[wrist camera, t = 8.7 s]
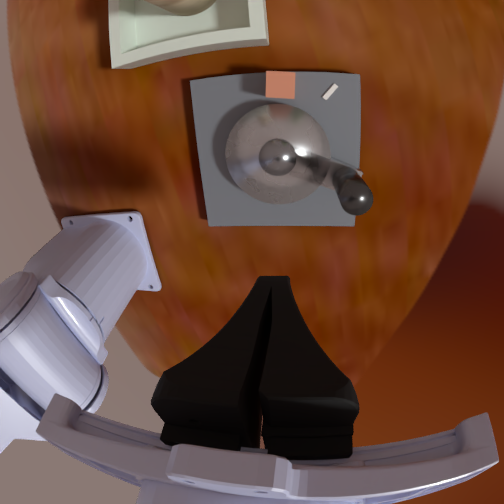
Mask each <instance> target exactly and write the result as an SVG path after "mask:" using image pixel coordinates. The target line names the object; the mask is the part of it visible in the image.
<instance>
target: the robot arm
mask: <svg viewBox="0 0 504 504" xmlns="http://www.w3.org/2000/svg"><path fill="white" fill-rule="evenodd" d="M129 216H131V217H132V219H130V217H129ZM61 224H62V226H63V230H62V231H60V232H59V233H58V234H57V235H56V236H55V237H54V238H53V239H51V240H50V241H49V242H48V243H47V244H46V245H45V246H43V247H42V248H41V249H40V250H39V251H38V252H37V253H36V254H35V255H34V256H33V257H32V258H31V259H30V260H29V261H28V262H27V264H26V265H25V267H24V269H23V271H20V272H17V273H15V274H13V275H12V276H10V277H9V278H7V279H6V280H4V281H3V282H2V283H1V284H0V453H1V452H2V451H3V450H4V449H5V448H6V447H7V446H8V445H9V444H10V443H11V441H12V440H13V439H28V440H39V441H48V442H49V443H51V444H52V445H54V446H55V447H57V448H58V449H60V450H61V451H62V452H64V453H65V454H67V455H69V456H71V457H73V458H75V459H77V460H79V461H81V462H83V463H85V464H87V465H89V466H91V467H93V468H95V469H98V470H100V471H102V472H104V473H106V474H109V475H111V476H113V477H116V478H118V479H120V480H123V481H125V482H128V483H131V484H133V485H136V486H139V487H141V488H140V491H139V495H138V498H137V502H136V504H391V503H396V502H400V501H404V500H408V499H412V498H416V497H419V496H422V495H426V494H429V493H432V492H435V491H439V490H442V489H445V488H447V487H450V486H453V485H456V484H459V483H461V482H464V481H466V480H469V479H470V478H472V477H474V476H476V475H478V474H480V473H481V472H483V471H485V470H487V469H488V468H490V467H491V466H493V465H495V464H496V463H498V461H499V458H498V453H497V449H496V444H495V440H494V435H493V431H492V427H491V423H490V420H489V416H488V413H483V414H480V415H477V416H474V417H471V418H468V419H466V420H464V421H462V422H461V423H460V424H458V425H457V426H456V428H455V429H452V430H448V431H445V432H441V433H437V434H433V435H429V436H424V437H420V438H415V439H410V440H405V441H399V442H393V443H387V444H380V445H372V446H364V447H352V435H353V432H354V431H353V423H354V421H355V419H356V417H357V415H358V413H359V403H358V399H357V395H356V392H355V390H354V387H353V385H352V382H351V380H350V379H349V378H348V377H346V376H345V375H344V374H343V373H342V372H341V371H340V370H339V369H338V368H337V366H336V365H335V364H334V363H333V362H332V361H331V360H330V359H329V357H328V356H327V355H326V353H325V352H324V351H323V350H322V348H321V347H320V346H319V344H318V343H317V341H316V340H315V338H314V337H313V335H312V334H311V332H310V330H309V329H308V327H307V325H306V323H305V321H304V319H303V317H302V315H301V313H300V311H299V309H298V306H297V304H296V302H295V299H294V296H293V293H292V290H291V285H290V278H289V277H288V276H260V277H258V279H257V281H256V283H255V284H254V286H253V288H252V290H251V291H250V293H249V295H248V296H247V298H246V299H245V300H244V302H243V303H242V305H241V306H240V308H239V309H238V310H237V312H236V313H235V314H234V315H233V317H232V318H231V319H230V320H229V321H228V323H227V324H226V325H225V326H224V327H223V328H222V329H221V330H220V331H219V332H218V333H217V334H216V335H215V336H214V337H213V338H212V339H211V340H210V341H209V342H207V343H206V344H205V345H204V346H203V347H201V348H200V349H199V350H197V351H196V352H195V353H193V354H192V355H191V356H189V357H188V358H186V359H185V360H183V361H182V362H180V363H178V364H177V365H175V366H173V367H172V368H170V369H168V370H166V371H164V372H163V374H162V376H161V378H160V380H159V382H158V384H157V386H156V389H155V391H154V394H153V397H152V399H151V405H152V407H153V408H154V410H155V411H156V413H158V415H159V416H160V418H161V419H162V420H163V421H164V422H165V424H164V427H163V430H162V433H161V434H160V433H155V432H151V431H147V430H144V429H140V428H136V427H133V426H129V425H126V424H122V423H119V422H116V421H113V420H110V419H107V418H104V417H101V416H98V415H95V414H94V413H95V412H96V411H97V409H98V408H99V407H100V405H101V404H102V402H103V400H104V397H105V395H106V392H107V388H108V381H109V380H108V379H109V378H108V372H107V370H106V368H105V366H104V365H103V362H104V360H105V358H106V356H107V355H108V352H107V350H106V349H105V347H104V345H103V344H104V343H105V341H106V339H107V337H108V336H109V334H110V332H111V330H112V329H113V327H114V326H115V324H116V322H117V320H118V319H119V317H120V316H121V314H122V312H123V311H124V309H125V307H126V306H127V304H128V303H129V301H130V299H131V298H132V296H133V295H134V293H135V291H136V290H147V291H159V290H160V289H161V287H162V286H161V282H160V279H159V276H158V273H157V269H156V266H155V263H154V259H153V256H152V252H151V249H150V245H149V242H148V238H147V234H146V231H145V227H144V223H143V219H142V216H141V214H140V213H139V212H137V211H131V212H117V213H104V214H92V215H81V216H70V217H64V218H63V219H62V220H61ZM151 285H152V286H151ZM262 415H263V425H262V432H261V424H262V423H261V422H262ZM260 436H263V440H264V445H265V449H260Z"/></svg>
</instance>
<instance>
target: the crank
mask: <svg viewBox="0 0 504 504" xmlns="http://www.w3.org/2000/svg"><path fill="white" fill-rule="evenodd" d="M225 155H226V163H227V167H228V170H229V173H230V175H231V176H232V178H233V180H234V181H235V183H236V184H237V185H238V186H239V187H240V188H241V189H242V190H243V191H244V192H245V193H246V194H248V195H249V196H251V197H253V198H255V199H257V200H259V201H262V202H266V203H270V204H289V203H293V202H297V201H299V200H302V199H304V198H306V197H308V196H309V195H310V194H312V193H313V192H314V191H315V190H317V188H318V187H319V186H320V185H321V186H324V187H326V188H329V189H332V190H334V191H336V193H337V196H338V198H339V201H340V203H341V206H342V208H343V209H344V211H345V212H347V213H348V214H351V215H361V214H364V213H366V212H367V211H368V210H369V209H370V208H371V206H372V203H373V195H372V192H371V190H370V189H369V187H368V186H367V185H366V183H365V182H364V180H363V179H362V178H361V176H362V174H363V172H362V171H361V169H359V168H357V167H354V166H352V165H349V164H347V163H344V162H342V161H339V160H337V159H334V158H332V157H331V151H330V145H329V141H328V138H327V136H326V134H325V132H324V130H323V128H322V127H321V126H320V124H319V123H318V122H317V121H316V120H315V119H314V118H313V117H312V116H311V115H309V114H308V113H307V112H305V111H303V110H302V109H299V108H297V107H295V106H291V105H287V104H268V105H264V106H260V107H258V108H256V109H253V110H252V111H250V112H248V113H247V114H245V115H244V116H243V117H242V118H240V120H239V121H238V122H237V123H236V124H235V125H234V127H233V128H232V130H231V132H230V134H229V137H228V139H227V143H226V152H225Z"/></svg>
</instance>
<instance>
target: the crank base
mask: <svg viewBox="0 0 504 504" xmlns="http://www.w3.org/2000/svg"><path fill="white" fill-rule="evenodd" d="M190 86H191V96H192V105H193V114H194V122H195V131H196V139H197V147H198V155H199V162H200V170H201V177H202V184H203V191H204V198H205V205H206V211H207V218H208V224H209V226H354V224H355V215H351V214H348V213H347V212H345V211H344V209H343V208H342V206H341V203H340V201H339V198H338V196H337V193H336V191H334V190H332V189H329V188H326V187H324V186H321V185H320V186H319V187H318V188H317V190H315V191H314V192H313V193H312V194H310V195H309V196H308V197H306V198H304V199H302V200H299V201H297V202H293V203H289V204H270V203H266V202H262V201H259V200H257V199H255V198H253V197H251V196H249V195H248V194H246V193H245V192H244V191H243V190H242V189H241V188H240V187H239V186H238V185H237V184H236V183H235V181H234V180H233V178H232V176H231V175H230V173H229V170H228V167H227V163H226V155H225V152H226V143H227V139H228V137H229V134H230V132H231V130H232V128H233V127H234V125H235V124H236V123H237V122H238V121H239V120H240V118H242V117H243V116H244V115H245V114H247V113H248V112H250V111H252V110H253V109H256V108H258V107H260V106H264V105H268V104H287V105H291V106H295V107H297V108H299V109H302V110H303V111H305V112H307V113H308V114H309V115H311V116H312V117H313V118H314V119H315V120H316V121H317V122H318V123H319V124H320V126H321V127H322V128H323V130H324V132H325V134H326V136H327V138H328V141H329V145H330V151H331V157H332V158H334V159H337V160H339V161H342V162H344V163H347V164H349V165H352V166H354V167H357V168H359V159H360V127H361V95H360V75H358V74H347V73H331V72H282V71H266V73H250V74H238V75H228V76H219V77H211V78H204V79H198V80H191V81H190Z"/></svg>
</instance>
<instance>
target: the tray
mask: <svg viewBox="0 0 504 504" xmlns="http://www.w3.org/2000/svg"><path fill="white" fill-rule="evenodd" d="M108 10H109V37H110V52H111V64H112V69H132V68H136V67H139V66H143V65H147V64H150V63H154V62H158V61H162V60H167V59H171V58H176V57H181V56H186V55H191V54H197V53H202V52H209V51H216V50H223V49H231V48H241V47H252V46H267V45H269V37H268V25H267V14H266V3H265V0H216V1H215V3H214V4H213V5H212V6H211V7H209V8H208V9H207V10H205V11H203V12H201V13H199V14H196V15H192V16H178V15H175V14H173V13H171V12H169V11H167V10H164V9H162V8H160V7H158V6H156V5H153V4H151V3H149V2H147V1H144V0H108Z"/></svg>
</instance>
